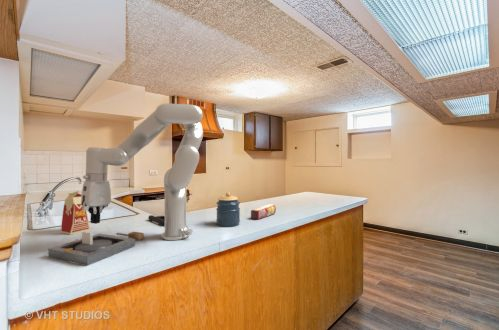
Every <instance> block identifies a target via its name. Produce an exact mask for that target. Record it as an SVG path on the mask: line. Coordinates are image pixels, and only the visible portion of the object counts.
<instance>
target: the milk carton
mask: <svg viewBox="0 0 499 330" xmlns="http://www.w3.org/2000/svg"><path fill="white" fill-rule="evenodd" d="M81 195H82V193H81V194H80V193H79V190H77V191H74V192H71V193H68V195H67V197H66V198H65V199H64V204H63V210H62V215H61V217H62V218H61V230H60V233H62V234H67V235H69V236H71V235H75V234H80V233H82V232H84V231H86V232H90V231H91V226H90V220H89V216H88V211H87V210H82V205H81Z"/></svg>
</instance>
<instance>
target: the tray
mask: <svg viewBox="0 0 499 330" xmlns="http://www.w3.org/2000/svg"><path fill="white" fill-rule="evenodd" d="M93 240H110V241H112V245H110V246H107V247H104V248H102V249H99V250H96V251H93V252H91V253H87V252H82V251H76V250H75V247H76V246H77V245H79V244H81V243H82V238H80V239H75V240H73V241H70V242H67V243H63V244H60V245H57V246H53V247H51V248H50V247H49V248H47V250H48V252H47V254H48V255H47V257H48V258H49V259H50V258H51V259H55V260H61V261H66V262H69V263H74V264H78V265H82V266H90V265H92V264H95V263H97V262H100V261H103V260H105V259H107V258H110V257H111V256H114V255H117V254H119V253H122V252H124V251H127V250H129V249H132V248H135V247H136V240H135V239H132V238H128V237H125V236H124V237H123V236H120V235H111V234H105V233H104V234H103V233H97V234H93Z"/></svg>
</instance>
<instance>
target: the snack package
mask: <svg viewBox="0 0 499 330" xmlns="http://www.w3.org/2000/svg"><path fill="white" fill-rule="evenodd" d="M276 212H277V207H276V205H275V204H273V203H268V204H266V205H265V204H264V205H263V206H259V207H257V208H253V209H251V211H250V219H251V220H255V221H256V220H257V221H258V220H261V219H264V218H266V217H270V216H272V215H275V213H276Z"/></svg>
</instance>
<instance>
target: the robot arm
mask: <svg viewBox="0 0 499 330" xmlns="http://www.w3.org/2000/svg"><path fill="white" fill-rule="evenodd" d="M203 117H204V114H203V110H202V109H201V108H200V107H199V106H197V105H195V104H187V103H185V104H184V103H162V104H160V105H158V106H157V107H156V109H155V110H154V111H153V112H152V113H151V114H150V115H148V116H147V117H146V118H145V119H144V120H143V121H141V123H139V124H137V126H136V127H134V129H133V130H132V132H131V133H130V134H129V136H128V137H127V138H126V139H125V140H124V141H122V143H120V144H119V145H118V146H116V147H109V148H106V147H105V148H104V147H94V146H93V147H92V146H91V147H88V148H86V151H85V152H86V153H85V160H86V161H85V174H84V175H83V176H82V178H83V179H85V180H84V181H83V185H82V189H81V205H82V210H87V212H88V213H89V214H90V223H91V224H94V225H95V224H100V223H101V213H103V210H104V209H106V208H108V207H109V205H110V204H111V202H112V194H111V193H112V191H111V184H110V181H109V180H108V168H109V166H114V167H122V166H123V165H125V164H127V163H128V162H129V161H130V160H131V159H132V158H133V157H134V156H136V155H137V154H138V153H139V152H140V151H141V150H142V149H144V148H145V147H146V146H148V145H149V144H150V143H152V142H153V141H154V140H155V139H156V138H157V137H158V136H159V135H160V134H162V132H164V131H165V130H166V129H167V128H168V127H169V126H170V125H171V124H177V125H179V124H180V125H182V126H183V127H184V134H183V136H182V139H181V141H180V144H179V146H178V148H177V150H176V151H175V153H174V162H173V164H172V165H171V168H169V169H168V170H166V171H165V173H164V176H163V189H164V192H163V193H164V216H165V226H164V232H162V233H161V234H160V237H161V239H163V240H165V241H176V240H178V241H179V240H183V239H186V238H188V237H189V236H191V235H192V234H193V229H192V228H191V229H189V225H187V187H188V186H189V184H190V183H191V180H192V178H193V175H194V174H195V171H196V169H197V166H198V164H199V162H200V153H199V148H200V146H201V143H202V140H203V137H204V128H203V125H202V120H203ZM108 165H109V166H108Z"/></svg>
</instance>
